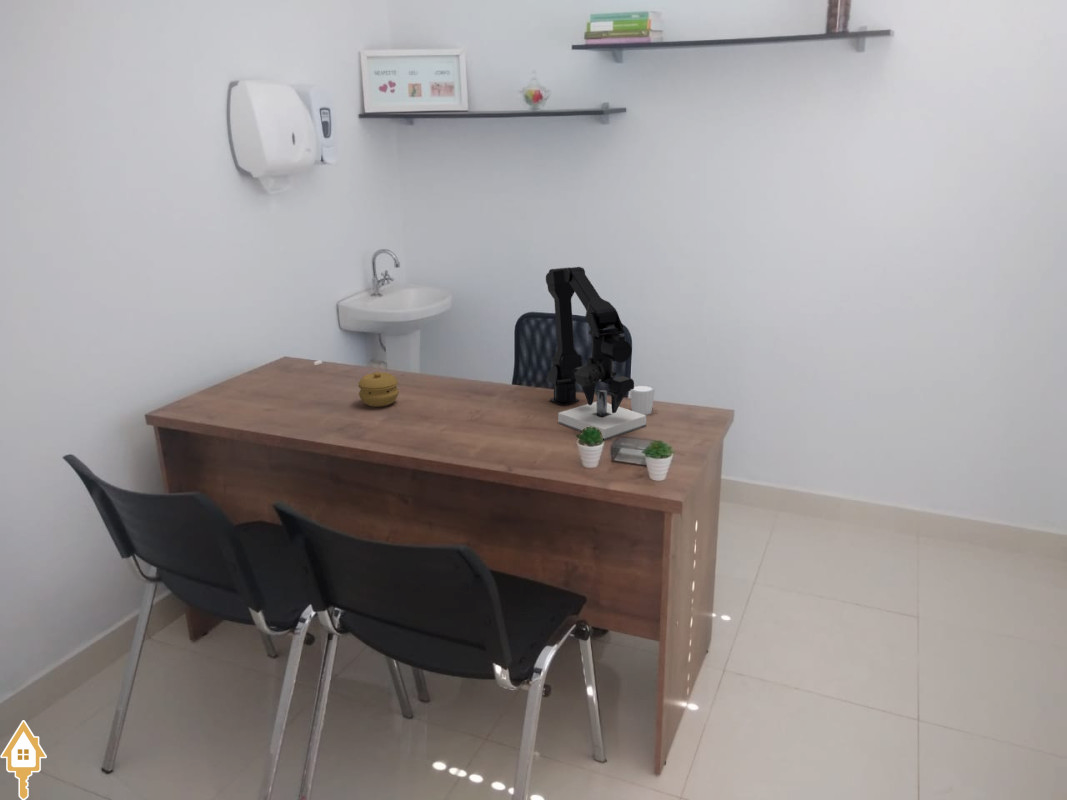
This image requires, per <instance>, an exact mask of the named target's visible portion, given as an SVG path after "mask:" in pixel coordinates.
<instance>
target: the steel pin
mask: <svg viewBox="0 0 1067 800" xmlns="http://www.w3.org/2000/svg"><path fill="white" fill-rule="evenodd" d="M596 401H597V416H599V417H601V418H602V417H606V416H607V403H608V390H605V389H599V390H598V389H597V390H596Z"/></svg>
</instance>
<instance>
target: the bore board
mask: <svg viewBox="0 0 1067 800" xmlns="http://www.w3.org/2000/svg"><path fill="white" fill-rule="evenodd" d="M557 415H558V417H557V418H558V419H557V420H558V421H557V422H558V424H559V425H563V426H565V427H568V428H571V429H574V430H576V431H579V432H581V431H582V430H583V429H584V428H586V427H590V426H591V427H595V428H598V429H599V430H600V431H601V433H602V435H603V438H604V440H603V441H607V440H610V439H612V438H616V437H618V436H621V435H624V434H626V433H629V432H632V431H636V430H639V429H641V428H644V427H647V415H643V414H640V413H637V412H634V411H632V409H631V410H630V409H628V408H624V407H622V406H619V407H618V409H617V411H616V413H612V403H609V402H607V416H606V417H602V418H601V417H599V416H597V400H596V401H593V403H592V405H588V403H587V404H586V403H585V404H583V405H580V406H577V407H574V408H570V409H566V410H563V411H560V412H558V414H557Z"/></svg>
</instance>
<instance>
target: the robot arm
mask: <svg viewBox="0 0 1067 800" xmlns="http://www.w3.org/2000/svg"><path fill="white" fill-rule="evenodd" d="M545 283H546V285H547V291H548V293H549V294H550V295H551V297H552V298H553V300H554V312H555V313H554V315H555V316H554V317H555V328H556V329H555V330H556V331H555V332H556V342H557V343H556V344H557V350H556V352H555V354H554V355H553V357H552V367H551V368H550V370H549V371H548V373H547V374H546V375H547V380H548V381H547V382H548V383H550V384H552V385H553V398H550V399H549V402H552V403H554V404H557V405H561V406H568V405H571V404H574V403H578V402H580V399H579V398H577V387H576V385H577V384H578V385H579V386H580V387H581V388H582V390H583V393H584V395H585V399H586V402H587V404H588V405H592V403H593V402H594V399H595V398H594V397H595V391H596V386H597V383H598V382H600V383H604V384H607V385H608V388H609V390H607V393H609V395H610V398H611V399H610V400H611V403H610V404H612V413H616V411H617V409H618V407H620V405H621V403H622V402H623V399H624V397H625V396H626V395H627V393H629V392H630V390H631V389H634V386H635V380H634V379H633V378H632V377H628V376H624V375H621V376H619V377H615V376H617V371H615V370H614V362H616V363H624V362H626V361H628V360H629V358H630V357H631V355H632V347H631V344H630V343H629V342H628V341H626V336H625V335H624V334H625V331H624V325H623V323H622V321H621V319H620V315H619V313H618V311H617V309H616V307H614V305H612V304H611V303H610V301H608V300H605V299H603V298H602V297H601V296H600V295H599V292H597V290H596V289H595V287H594V285H593V284H592V283H591V281H590V279H589V278H588V276H587V275H586V270H585V269H584V267H581V266H576V267H575V266H573V267H560V268H551V269H549V270H548V273H546V275H545ZM574 294H575V295H576V296H577V297H578V299H579V301H580V303H582V305H583V307H584V309H585V311H586V312H585V320H586V322H587V324H588V326H589V328H590V330H589V331H588V334H589V335H591V356H588V359H587V364H585V365H583V363H582V358H583V357H582V355H581V354H580V353H578V351H577V350H576V349H575V339H574V338H575V337H574V323H573V309H572V308H573V307H572V304H573V303H572V298H573V296H574ZM576 383H577V384H576Z"/></svg>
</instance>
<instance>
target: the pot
mask: <svg viewBox="0 0 1067 800" xmlns="http://www.w3.org/2000/svg"><path fill="white" fill-rule="evenodd" d="M398 385H399V380H398V379H397V378H396V377H395V375H393V374H391V373H390V372H389V373H388V372H380V371H376V372H372V373H369V374H365V375H364V376H363V377H361V379H360V380H359V381H358V385H357V386H358V388H359V389H360V390H359V391H358V395H359V398H360V400H361V401H362V402H363V403H364V404H365V405H367V406H370V407H374V408H375V407H376V408H377V407H385V406H389V405H391V404H393V403H394V402H395V401H396V400H397V397H398V396H399V393H400V391H399V390H400V389H399V388H398V387H397V386H398Z"/></svg>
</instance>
